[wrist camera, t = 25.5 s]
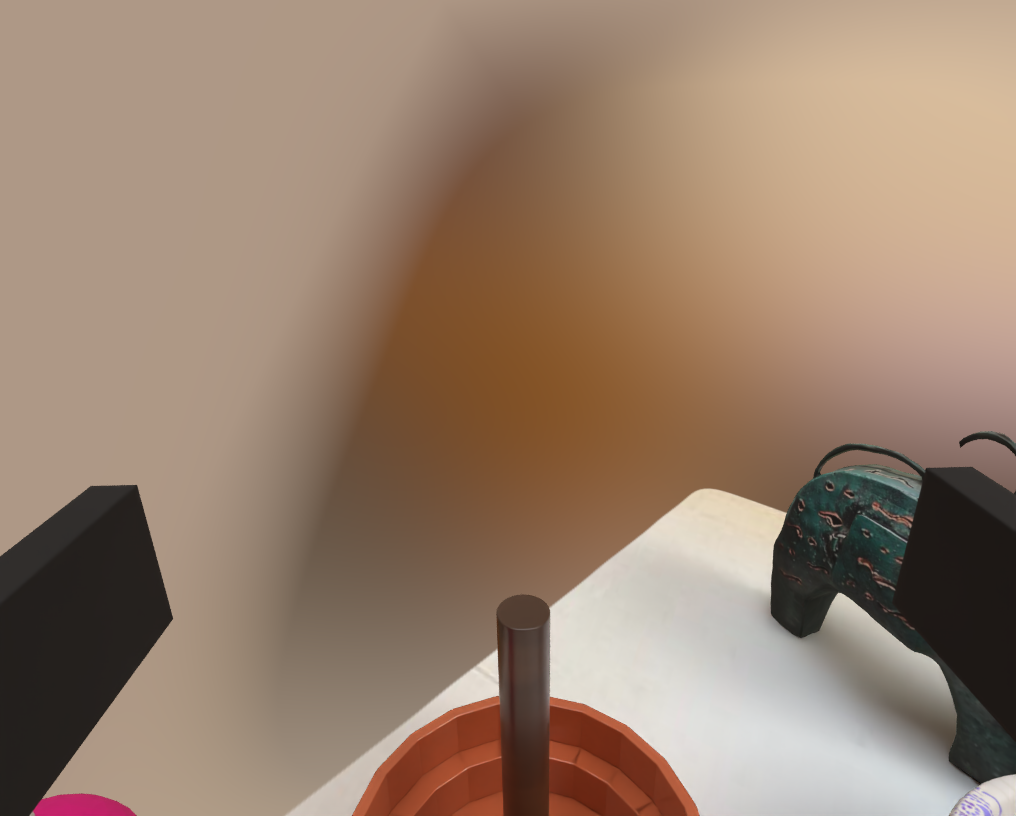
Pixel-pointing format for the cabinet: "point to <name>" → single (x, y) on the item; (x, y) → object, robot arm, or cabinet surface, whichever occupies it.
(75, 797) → the pepper mill
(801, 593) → the ceramic cat
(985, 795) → the paper bowls
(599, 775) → the bowl
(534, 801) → the dowel on disc base
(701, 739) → the cabinet surface
